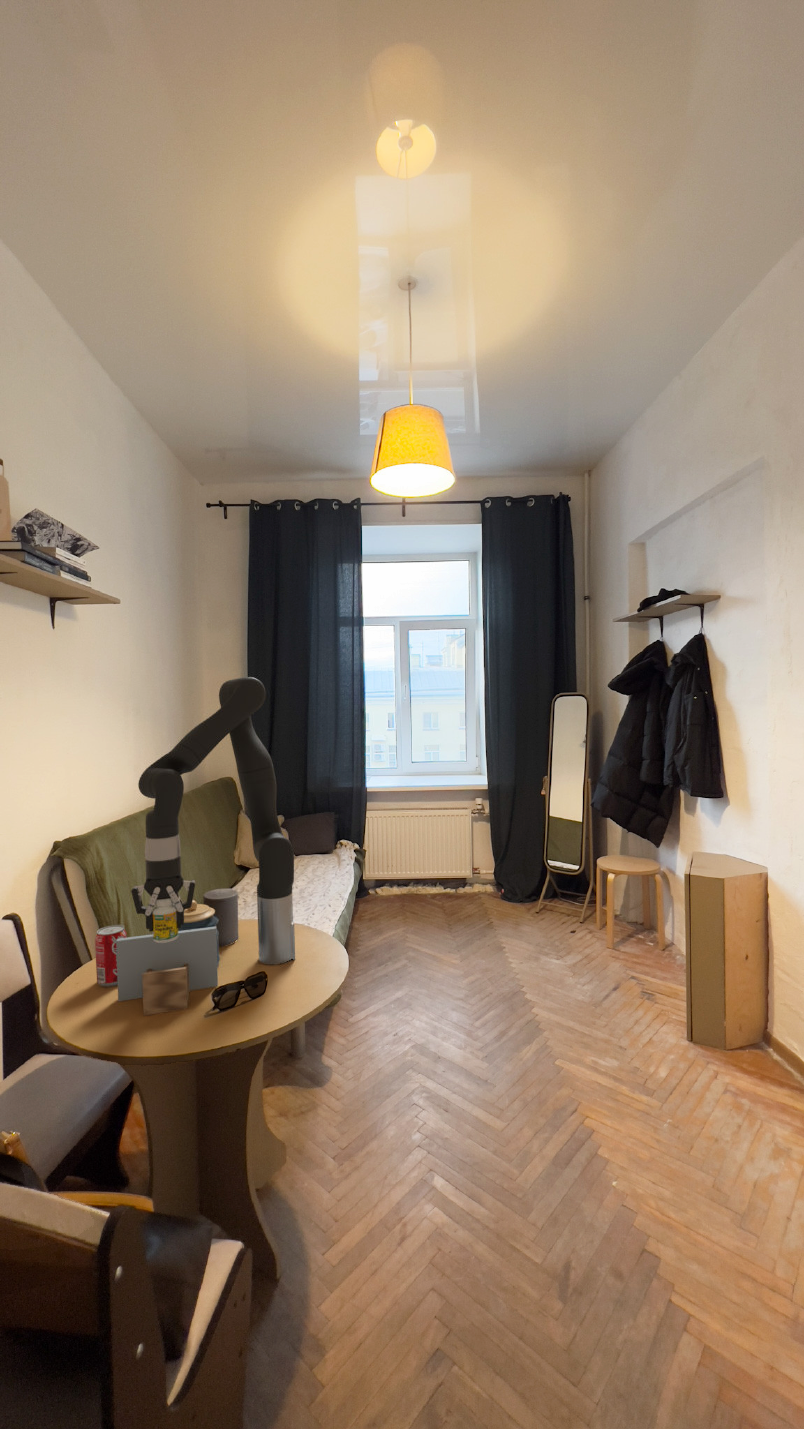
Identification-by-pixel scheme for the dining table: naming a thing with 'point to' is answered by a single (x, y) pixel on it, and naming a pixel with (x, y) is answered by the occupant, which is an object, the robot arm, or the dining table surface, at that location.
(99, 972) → the soda can
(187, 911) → the canister
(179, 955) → the wall board
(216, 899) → the pillar candle
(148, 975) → the cleat pocket
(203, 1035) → the dining table surface
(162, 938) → the supplement bottle
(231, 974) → the dining table surface
